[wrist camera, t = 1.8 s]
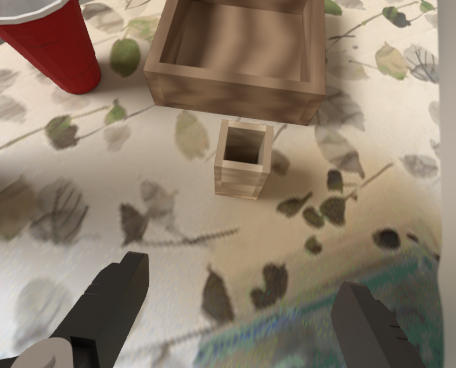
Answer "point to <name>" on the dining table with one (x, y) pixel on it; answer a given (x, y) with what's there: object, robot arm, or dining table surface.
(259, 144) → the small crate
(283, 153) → the dining table surface
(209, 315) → the dining table surface
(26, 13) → the plastic cup
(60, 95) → the dining table surface
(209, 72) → the crate
